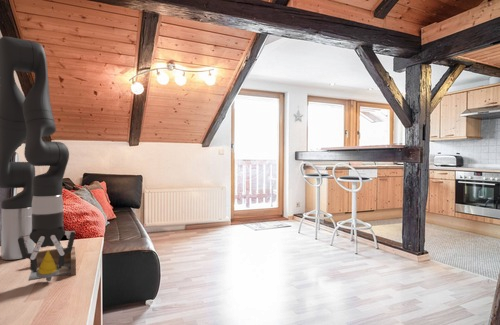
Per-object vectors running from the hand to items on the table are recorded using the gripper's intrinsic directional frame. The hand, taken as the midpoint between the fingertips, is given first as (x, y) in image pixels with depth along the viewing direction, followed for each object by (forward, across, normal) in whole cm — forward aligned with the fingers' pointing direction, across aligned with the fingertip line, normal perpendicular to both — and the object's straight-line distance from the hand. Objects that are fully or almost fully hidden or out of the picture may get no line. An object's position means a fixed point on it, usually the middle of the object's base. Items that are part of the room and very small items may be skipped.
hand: (48, 269), depth 86 cm
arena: (+4, +2, +4) cm, 6 cm away
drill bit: (+4, 0, 0) cm, 4 cm away
